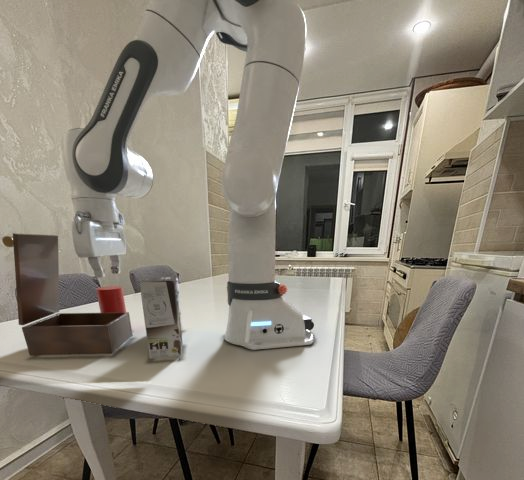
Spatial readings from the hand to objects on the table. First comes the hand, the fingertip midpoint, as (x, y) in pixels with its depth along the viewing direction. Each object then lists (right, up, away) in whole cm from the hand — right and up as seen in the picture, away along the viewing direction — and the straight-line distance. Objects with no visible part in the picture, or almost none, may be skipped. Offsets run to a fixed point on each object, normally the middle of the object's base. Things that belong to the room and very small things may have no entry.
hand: (109, 275), depth 73 cm
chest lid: (-8, -4, -12) cm, 15 cm away
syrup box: (+14, -15, +5) cm, 20 cm away
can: (-1, -14, +5) cm, 15 cm away
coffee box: (+18, -20, -9) cm, 28 cm away
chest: (-2, -18, -6) cm, 19 cm away
